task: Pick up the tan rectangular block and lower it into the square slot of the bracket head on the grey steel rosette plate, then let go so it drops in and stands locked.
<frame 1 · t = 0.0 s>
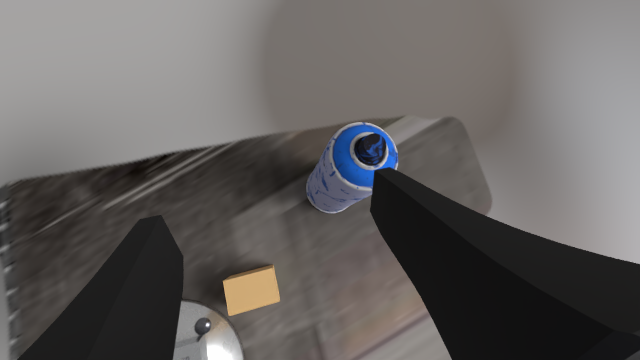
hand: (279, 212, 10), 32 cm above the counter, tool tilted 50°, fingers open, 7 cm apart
tan rectangular block: (254, 284, 39), on the counter
aerosol can: (330, 188, 44), on the counter
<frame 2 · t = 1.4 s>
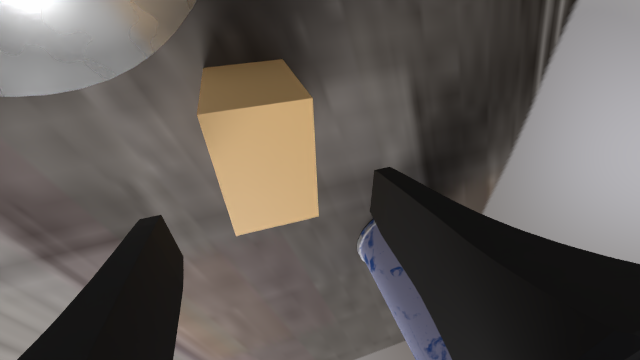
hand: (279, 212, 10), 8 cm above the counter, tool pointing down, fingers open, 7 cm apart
tan rectangular block: (254, 117, 16), on the counter
aerosol can: (393, 233, 27), on the counter
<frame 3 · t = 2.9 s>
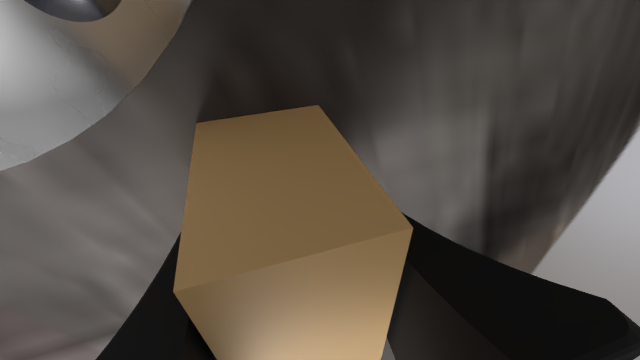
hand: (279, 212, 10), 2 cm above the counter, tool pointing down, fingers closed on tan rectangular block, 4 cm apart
tan rectangular block: (272, 184, 11), on the counter, touching gripper
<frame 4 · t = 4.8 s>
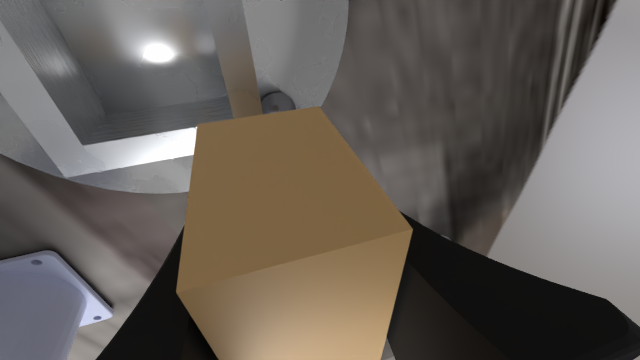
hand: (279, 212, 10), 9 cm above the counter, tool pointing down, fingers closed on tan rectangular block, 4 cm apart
tan rectangular block: (273, 185, 11), point 7 cm above the counter, touching gripper
rosette: (143, 9, 12), on the counter
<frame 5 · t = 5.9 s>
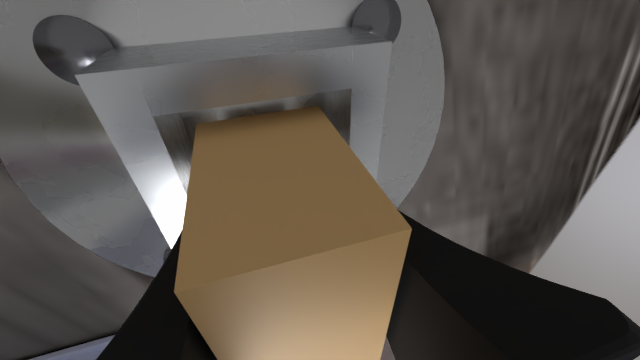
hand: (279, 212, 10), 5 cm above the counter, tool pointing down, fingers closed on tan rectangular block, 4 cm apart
tan rectangular block: (272, 185, 11), point 3 cm above the counter, touching gripper
rosette: (261, 143, 14), on the counter
when the fingers open (5 cm above the counter, at t = 6.7 s): tan rectangular block drops 2 cm, resting on rosette.
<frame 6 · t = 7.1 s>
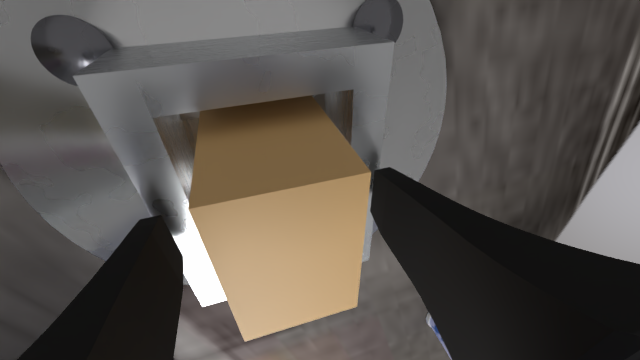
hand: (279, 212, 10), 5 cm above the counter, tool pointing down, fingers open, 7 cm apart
tan rectangular block: (267, 160, 12), point 1 cm above the counter, touching rosette
rosette: (261, 144, 14), on the counter
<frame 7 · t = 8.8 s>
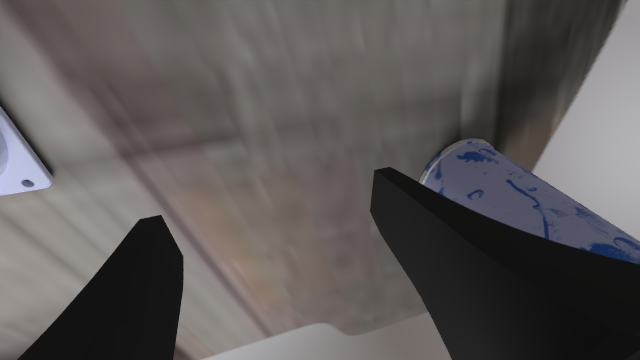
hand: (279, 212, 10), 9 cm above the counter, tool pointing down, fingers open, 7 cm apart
aerosol can: (453, 174, 26), on the counter
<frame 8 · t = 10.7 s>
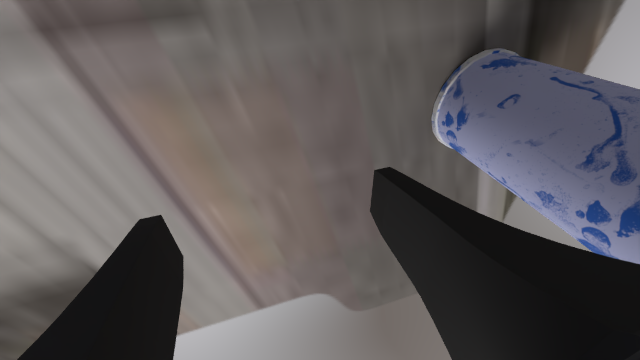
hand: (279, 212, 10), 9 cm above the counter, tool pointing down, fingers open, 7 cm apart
aerosol can: (474, 101, 22), on the counter
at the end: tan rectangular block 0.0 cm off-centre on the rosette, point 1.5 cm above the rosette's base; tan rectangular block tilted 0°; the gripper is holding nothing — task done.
